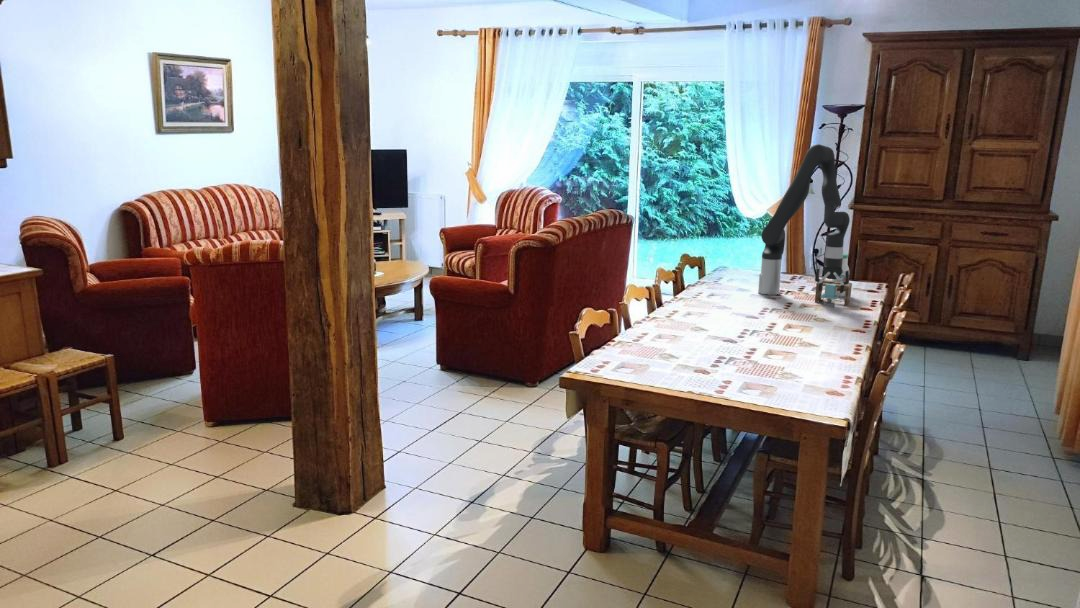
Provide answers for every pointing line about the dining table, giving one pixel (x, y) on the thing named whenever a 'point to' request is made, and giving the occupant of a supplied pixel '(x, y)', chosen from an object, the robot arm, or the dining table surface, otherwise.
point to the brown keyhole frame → (847, 286)
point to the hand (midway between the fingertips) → (830, 292)
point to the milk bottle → (842, 276)
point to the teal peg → (830, 294)
